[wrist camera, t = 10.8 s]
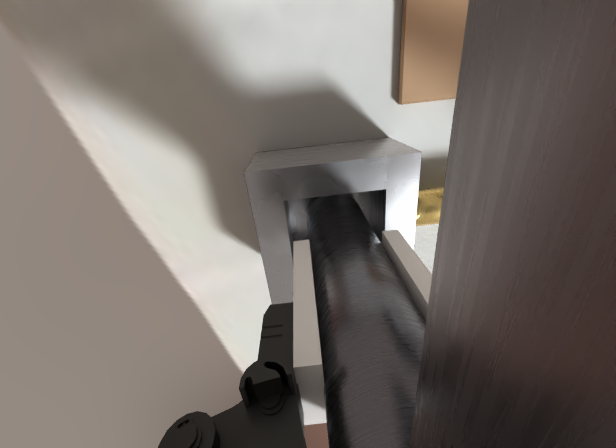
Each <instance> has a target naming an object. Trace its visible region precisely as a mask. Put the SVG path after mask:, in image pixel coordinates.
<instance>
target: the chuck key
mask: <svg viewBox="0 0 616 448" xmlns="http://www.w3.org/2000/svg"><path fill="white" fill-rule="evenodd" d="M307 229H308V239H309V243H310V252H311V261H312V270H313V280H314V289H315V299H316V308H317V318H318V327H319V337H320V346H321V356H322V365H323V375H324V384H325V385H324V400H325V410H326V420H327V430H328V440H329V448H616V0H469V3H468V10H467V18H466V25H465V33H464V40H463V48H462V55H461V63H460V70H459V78H458V85H457V93H456V100H455V108H454V115H453V123H452V130H451V138H450V145H449V153H448V160H447V168H446V175H445V183H444V190H443V198H442V205H441V213H440V220H439V228H438V235H437V243H436V250H435V258H434V265H433V273H432V280H431V288H430V295H429V303H428V310H427V318H426V321H425V319H424V318H423V316H422V314H421V312H420V311H419V309H418V307H417V305H416V304H415V302H414V300H413V298H412V297H411V295H410V293H409V292H408V290H407V288H406V286H405V285H404V283H403V281H402V279H401V278H400V276H399V274H398V272H397V271H396V269H395V267H394V265H393V264H392V262H391V260H390V258H389V257H388V255H387V253H386V251H385V250H384V248H383V246H382V244H381V243H380V241H379V239H378V237H377V236H376V234H375V232H374V231H373V229H372V227H371V225H370V224H369V222H368V220H367V218H366V217H365V215H364V213H363V211H362V210H361V208H360V206H359V204H358V203H357V202H356V200H355V199H353V198H352V197H351V196H349V195H347V194H339V195H330V196H322V197H319V198H318V199H316V200H315V201H314V202H313V203H312V205H311V206H310V208H309V210H308V213H307Z"/></svg>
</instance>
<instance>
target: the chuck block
mask: <svg viewBox="0 0 616 448" xmlns="http://www.w3.org/2000/svg"><path fill="white" fill-rule="evenodd" d="M421 156H422V152H421V151H418V150H416V149H414V148H412V147H410V146H407V145H405V144H403V143H401V142H398V141H396V140H394V139H392V138H390V137H389V138H380V139H371V140H363V141H354V142H345V143H336V144H328V145H319V146H310V147H301V148H293V149H284V150H275V151H267V152H258V153H256V154H255V155H254V157H253V159H252V160H251V162H250V163H249V165H248V167H247V168H246V170H245V172H244V175H245V180H246V185H247V189H248V194H249V199H250V203H251V208H252V213H253V217H254V222H255V227H256V231H257V236H258V241H259V246H260V250H261V255H262V260H263V264H264V269H265V274H266V278H267V283H268V288H269V292H270V297H271V302H272V304H281V303H290V302H293V243H294V241H301V240H309V239H308V229H307V213H308V210H309V208H310V206H311V205H312V203H313V202H314V201H315V200H316V199H318V198H319V197H322V196H330V195H339V194H347V195H349V196H351V197H352V198H353V199H355V200H356V202H357V203H358V204H359V206H360V208H361V210H362V211H363V213H364V215H365V217H366V218H367V220H368V222H369V224H370V225H371V227H372V229H373V231H374V232H375V234H376V236H377V237H378V239H379V241H380V243H381V244H382V231H390V230H399V232H400V233H401V234H402V236H403V237H404V238H405V240H406V241H407V242H408V244H409V245H410V246H411V248H412V249H414V237H415V226H421V225H429V224H438V223H439V220H440V213H441V205H442V198H443V190H444V187H441V188H432V189H423V190H419V180H420V168H421Z"/></svg>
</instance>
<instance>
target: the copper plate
mask: <svg viewBox="0 0 616 448" xmlns="http://www.w3.org/2000/svg"><path fill="white" fill-rule="evenodd" d="M468 3H469V0H403V8H402V31H401V53H400V76H399V99H398V104H410V103H419V102H427V101H436V100H445V99H454V98H456V93H457V85H458V78H459V70H460V63H461V55H462V48H463V40H464V33H465V25H466V18H467V10H468Z"/></svg>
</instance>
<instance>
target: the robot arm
mask: <svg viewBox="0 0 616 448" xmlns="http://www.w3.org/2000/svg"><path fill="white" fill-rule="evenodd" d="M382 246H383V248H384V250H385V251H386V253H387V255H388V257H389V258H390V260H391V262H392V264H393V265H394V267H395V269H396V271H397V272H398V274H399V276H400V278H401V279H402V281H403V283H404V285H405V286H406V288H407V290H408V292H409V293H410V295H411V297H412V298H413V300H414V302H415V304H416V305H417V307H418V309H419V311H420V312H421V314H422V316H423V318H424V319H425V321H426V318H427V310H428V303H429V295H430V288H431V280H432V274H431V273H430V272H429V270H428V269H427V268H426V266H425V265H424V264H423V262H422V261H421V260H420V258H419V257H418V256H417V254H416V253H415V252H414V250H413V249H412V248H411V246H410V245H409V244H408V242H407V241H406V240H405V238H404V237H403V236H402V234H401V233H400V232H399V230H390V231H382ZM324 385H325V384H324V375H323V365H322V356H321V346H320V337H319V327H318V318H317V308H316V299H315V289H314V280H313V270H312V261H311V252H310V243H309V240H301V241H294V243H293V302H290V303H281V304H272V305H270V306H269V308H268V309H267V311H266V312H265V314H264V317H263V324H262V332H261V339H260V347H259V354H258V361H256V362H254V363H253V364H252V365H251V366H249V367H248V368H247V369H246V371H245V372H244V374H243V376H242V377H241V380H240V386H239V390H240V393H241V395H242V399H243V400H242V401H241V402H240V403H239V404H237V405H235V406H234V407H232V408H230V409H228V410H226V411H224V412H221V413H219V414H217V415H215V416H213V417H210V416H209V415H208V414H207V413H203V412H198V411H197V412H193V413H189V414H186V415H185V416H183V417H181V418H180V419H178V420H177V421H176V422H175V423H174V424H173V425H172V426H171V427H170V428H169V429H168V430H167V432H166V433H165V435H164V437H163V438H162V440H161V442H160V444H159V446H158V448H307V447H306V442H305V437H304V425H309V424H318V423H327V420H326V410H325V400H324Z"/></svg>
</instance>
